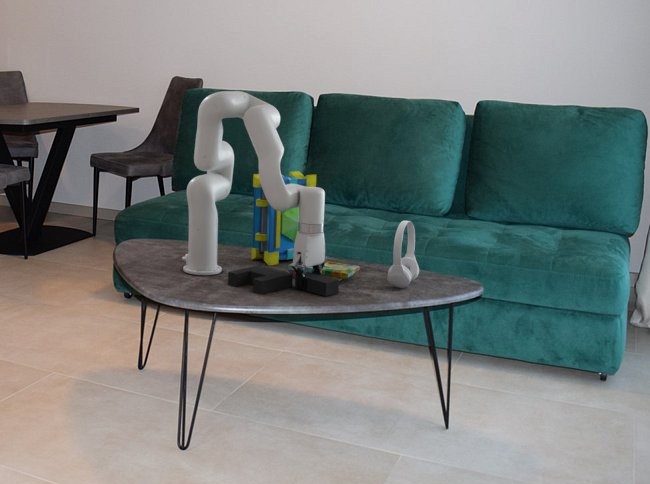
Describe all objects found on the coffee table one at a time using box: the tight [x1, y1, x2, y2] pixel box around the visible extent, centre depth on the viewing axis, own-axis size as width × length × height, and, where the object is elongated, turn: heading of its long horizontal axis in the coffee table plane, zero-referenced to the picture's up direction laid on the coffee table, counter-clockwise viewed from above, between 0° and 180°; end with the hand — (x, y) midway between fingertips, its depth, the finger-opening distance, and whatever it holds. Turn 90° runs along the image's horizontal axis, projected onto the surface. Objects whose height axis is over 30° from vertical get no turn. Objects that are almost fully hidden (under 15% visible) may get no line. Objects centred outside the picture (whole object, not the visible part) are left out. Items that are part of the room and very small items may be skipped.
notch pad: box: [227, 264, 294, 295], centre depth 251 cm, size 14×14×4 cm
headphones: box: [386, 220, 420, 289], centre depth 254 cm, size 7×18×20 cm, turn 151°
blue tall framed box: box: [250, 170, 317, 267], centre depth 285 cm, size 14×23×30 cm, turn 122°
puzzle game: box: [287, 260, 361, 282], centre depth 262 cm, size 12×5×20 cm
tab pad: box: [294, 272, 340, 297], centre depth 246 cm, size 12×6×4 cm, turn 42°
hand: (308, 286), depth 248 cm, fingers closed on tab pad, 6 cm apart
